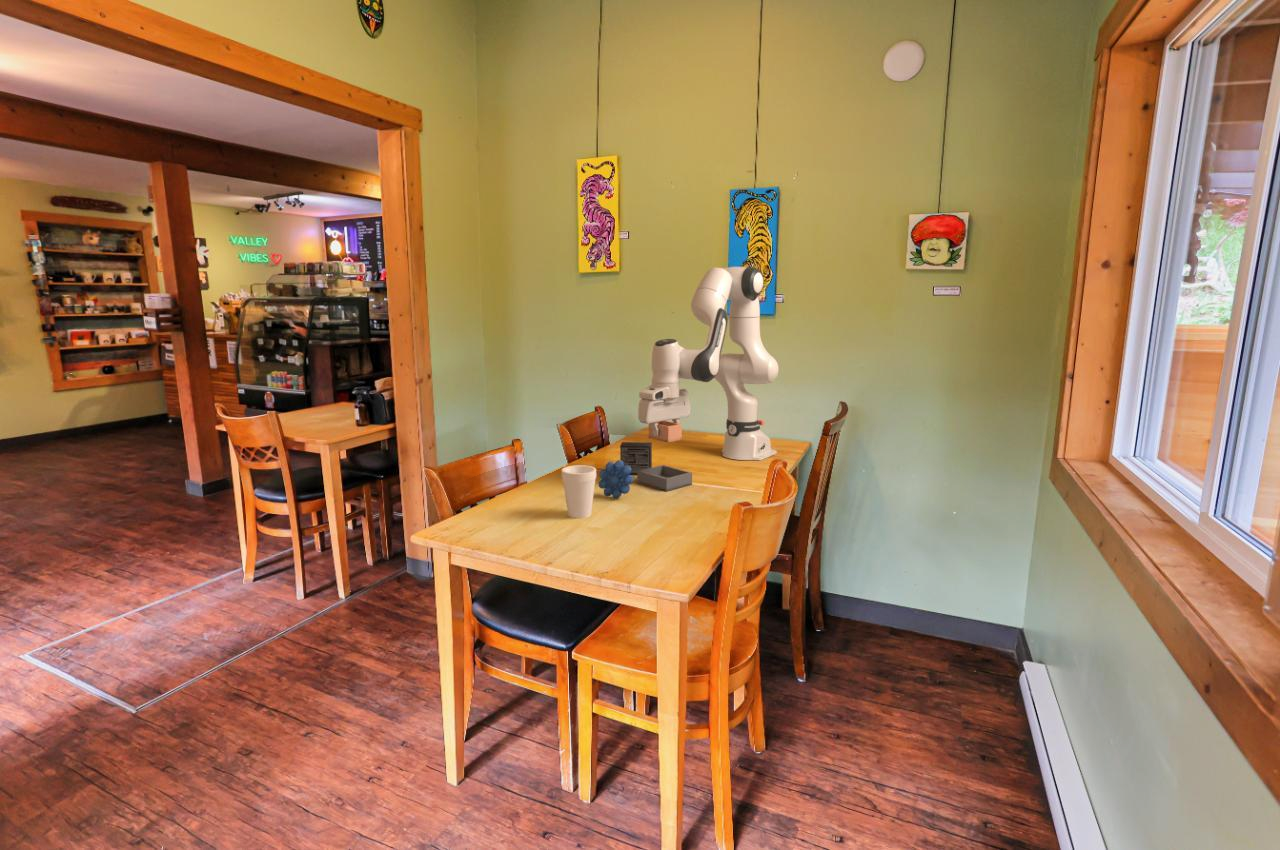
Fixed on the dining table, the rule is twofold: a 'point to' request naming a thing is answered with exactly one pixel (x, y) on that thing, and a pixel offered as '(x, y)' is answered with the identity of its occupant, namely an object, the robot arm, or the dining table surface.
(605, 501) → the dining table surface
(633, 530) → the dining table surface
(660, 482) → the box
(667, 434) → the small crate
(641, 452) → the small box
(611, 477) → the grapes
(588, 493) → the foam cup
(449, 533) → the dining table surface
